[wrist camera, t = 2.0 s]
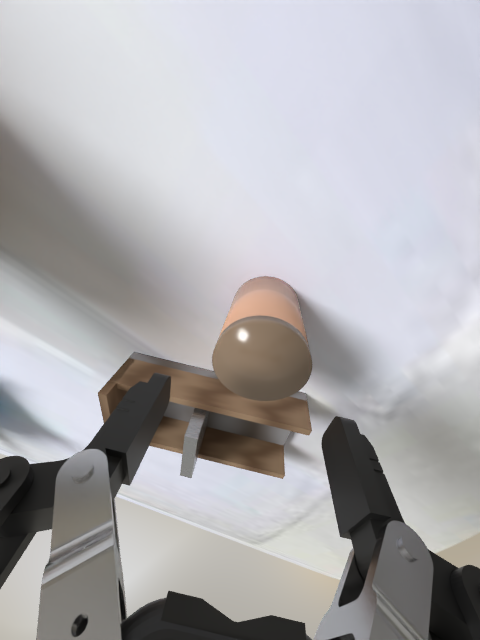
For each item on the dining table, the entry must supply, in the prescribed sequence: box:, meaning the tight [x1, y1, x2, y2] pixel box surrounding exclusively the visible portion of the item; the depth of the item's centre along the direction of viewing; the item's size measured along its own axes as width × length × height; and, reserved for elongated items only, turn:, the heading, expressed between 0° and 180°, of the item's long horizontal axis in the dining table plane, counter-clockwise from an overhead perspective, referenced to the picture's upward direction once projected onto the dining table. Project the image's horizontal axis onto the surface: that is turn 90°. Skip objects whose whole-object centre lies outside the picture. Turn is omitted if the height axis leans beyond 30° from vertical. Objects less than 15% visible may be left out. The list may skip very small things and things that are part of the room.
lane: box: [98, 352, 312, 479], centre depth 25 cm, size 20×10×6 cm, turn 79°
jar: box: [212, 276, 312, 401], centre depth 17 cm, size 6×6×8 cm
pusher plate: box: [180, 408, 209, 478], centre depth 24 cm, size 1×7×6 cm, turn 169°
